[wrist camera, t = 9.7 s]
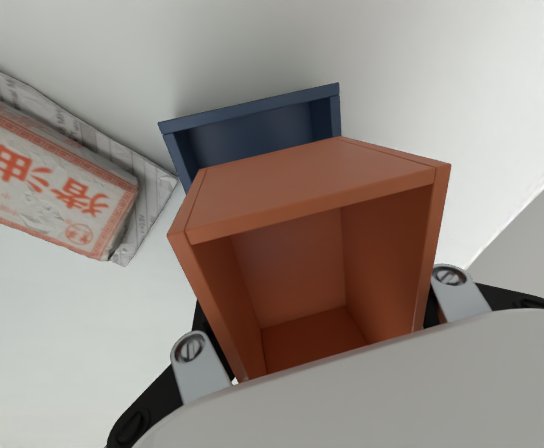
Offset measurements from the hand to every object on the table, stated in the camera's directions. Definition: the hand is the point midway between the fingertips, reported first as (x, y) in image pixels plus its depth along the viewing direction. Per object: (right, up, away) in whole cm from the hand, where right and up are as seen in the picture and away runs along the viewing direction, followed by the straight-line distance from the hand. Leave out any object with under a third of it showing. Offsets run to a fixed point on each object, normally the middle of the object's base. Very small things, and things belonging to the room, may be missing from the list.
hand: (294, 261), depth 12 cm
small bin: (0, 0, +1) cm, 1 cm away
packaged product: (-19, +7, +6) cm, 21 cm away
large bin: (-2, +5, +10) cm, 11 cm away
